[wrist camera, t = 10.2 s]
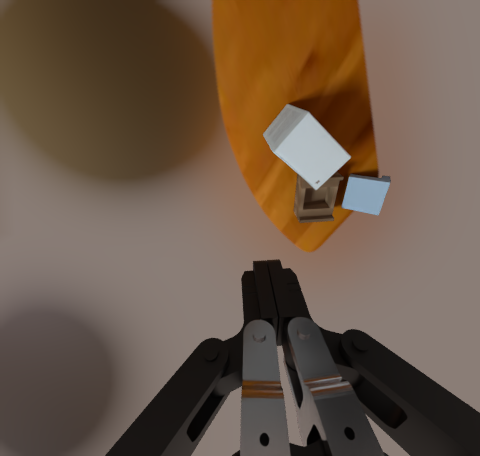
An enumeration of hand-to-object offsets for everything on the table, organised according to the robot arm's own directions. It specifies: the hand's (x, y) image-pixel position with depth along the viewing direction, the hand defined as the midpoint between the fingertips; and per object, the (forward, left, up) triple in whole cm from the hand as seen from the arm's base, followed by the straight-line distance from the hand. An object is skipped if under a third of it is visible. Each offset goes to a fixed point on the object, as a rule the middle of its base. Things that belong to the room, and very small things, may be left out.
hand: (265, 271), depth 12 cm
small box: (-2, +8, -27) cm, 28 cm away
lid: (+8, +21, -24) cm, 33 cm away
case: (+8, +12, -27) cm, 31 cm away
